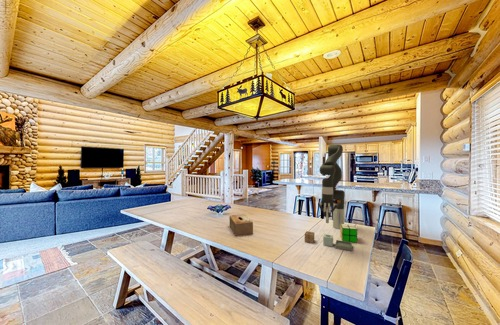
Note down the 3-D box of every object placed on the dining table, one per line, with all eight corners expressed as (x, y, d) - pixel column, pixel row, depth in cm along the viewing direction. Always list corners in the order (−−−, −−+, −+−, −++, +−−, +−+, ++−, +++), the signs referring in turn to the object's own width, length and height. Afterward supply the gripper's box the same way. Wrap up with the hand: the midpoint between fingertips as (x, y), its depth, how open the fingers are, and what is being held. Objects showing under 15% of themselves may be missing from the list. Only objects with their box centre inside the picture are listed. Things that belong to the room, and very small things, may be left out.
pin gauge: (325, 222, 145) (326, 205, 145) (328, 222, 145) (329, 206, 144) (325, 223, 144) (325, 206, 144) (328, 223, 143) (328, 206, 143)
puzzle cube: (354, 237, 156) (354, 224, 156) (357, 242, 146) (357, 229, 146) (340, 236, 159) (340, 223, 159) (342, 241, 149) (342, 227, 149)
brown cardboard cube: (306, 238, 154) (306, 231, 154) (314, 240, 151) (314, 232, 151) (304, 241, 148) (304, 233, 148) (313, 243, 146) (313, 235, 146)
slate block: (324, 241, 148) (324, 233, 148) (333, 243, 145) (333, 235, 145) (323, 245, 143) (323, 236, 143) (332, 246, 140) (332, 238, 140)
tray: (336, 242, 146) (336, 239, 146) (351, 245, 142) (351, 242, 142) (335, 248, 137) (335, 245, 137) (351, 251, 133) (351, 248, 133)
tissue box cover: (252, 234, 164) (252, 222, 164) (235, 236, 160) (235, 223, 160) (244, 224, 189) (244, 214, 189) (229, 226, 185) (229, 215, 185)
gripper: (338, 193, 144) (338, 217, 144) (318, 191, 150) (318, 214, 151) (337, 194, 137) (337, 219, 138) (316, 193, 144) (316, 217, 144)
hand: (327, 217), depth 144 cm, fingers closed on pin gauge, 2 cm apart
